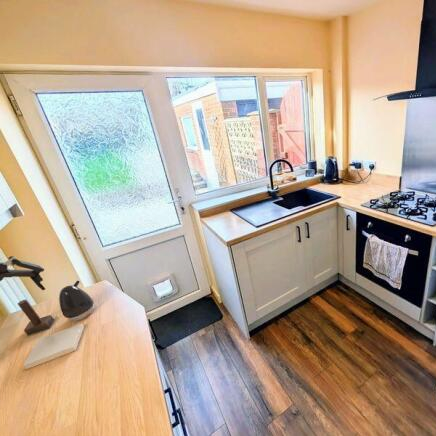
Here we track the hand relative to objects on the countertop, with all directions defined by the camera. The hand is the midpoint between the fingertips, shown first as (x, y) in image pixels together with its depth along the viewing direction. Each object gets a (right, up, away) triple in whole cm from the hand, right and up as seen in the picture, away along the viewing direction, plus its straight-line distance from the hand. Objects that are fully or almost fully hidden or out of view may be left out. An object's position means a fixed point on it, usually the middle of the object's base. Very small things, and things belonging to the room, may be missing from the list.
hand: (17, 303), depth 81 cm
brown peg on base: (-13, -17, +20) cm, 30 cm away
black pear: (+1, -14, +25) cm, 28 cm away
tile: (+3, -20, +11) cm, 23 cm away
